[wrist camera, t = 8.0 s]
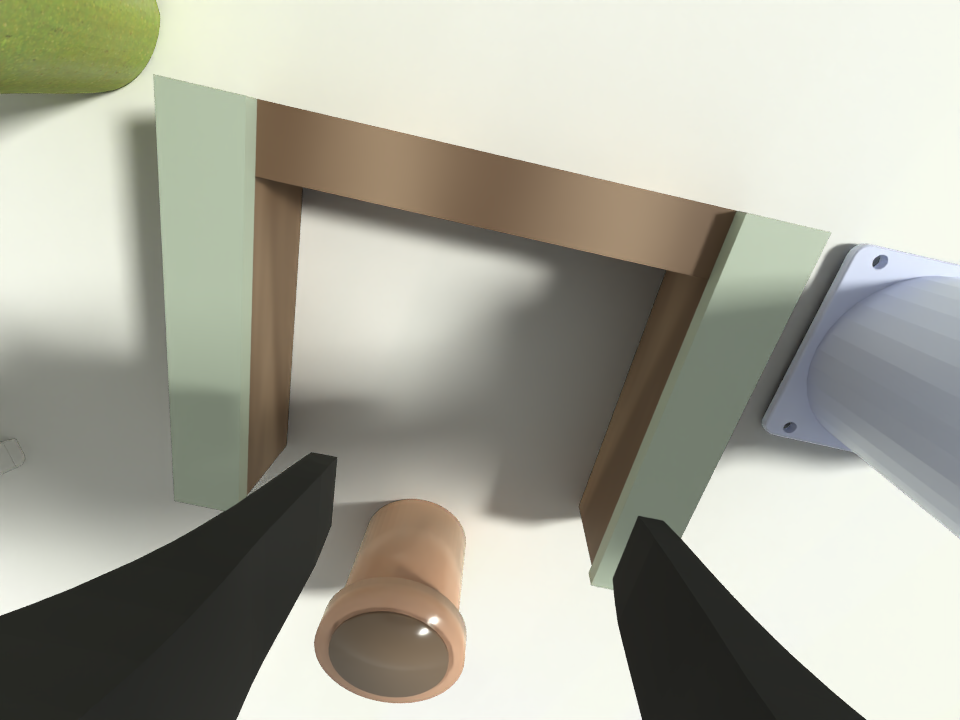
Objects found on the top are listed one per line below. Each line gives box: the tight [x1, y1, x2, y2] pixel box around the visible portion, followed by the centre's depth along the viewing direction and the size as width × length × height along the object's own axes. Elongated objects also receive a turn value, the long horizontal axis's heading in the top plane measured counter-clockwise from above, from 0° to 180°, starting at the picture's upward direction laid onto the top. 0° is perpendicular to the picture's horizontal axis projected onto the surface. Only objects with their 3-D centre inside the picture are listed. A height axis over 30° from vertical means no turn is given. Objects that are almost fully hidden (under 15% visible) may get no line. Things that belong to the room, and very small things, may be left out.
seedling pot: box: [314, 499, 466, 703], centre depth 21 cm, size 6×6×6 cm
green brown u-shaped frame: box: [153, 74, 831, 590], centre depth 17 cm, size 18×14×5 cm
